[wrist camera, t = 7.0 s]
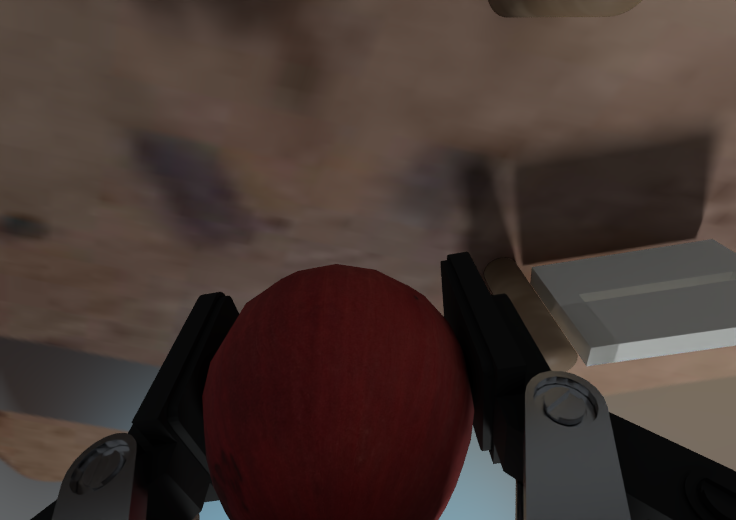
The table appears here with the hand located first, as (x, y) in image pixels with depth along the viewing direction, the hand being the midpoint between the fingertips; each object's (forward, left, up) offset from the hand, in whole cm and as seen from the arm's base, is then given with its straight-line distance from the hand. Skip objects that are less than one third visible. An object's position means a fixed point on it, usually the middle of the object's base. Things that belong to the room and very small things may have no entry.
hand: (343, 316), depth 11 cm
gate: (-15, +7, -9) cm, 19 cm away
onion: (0, 0, -1) cm, 1 cm away
